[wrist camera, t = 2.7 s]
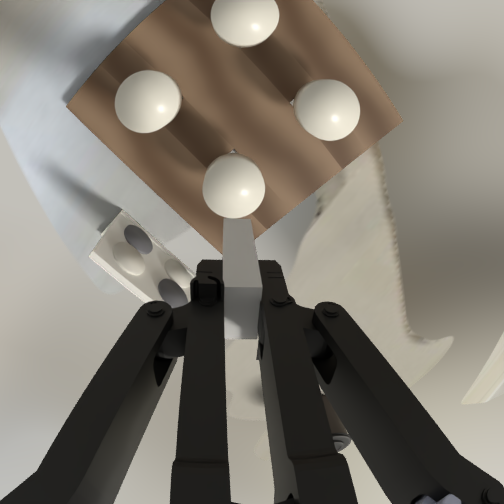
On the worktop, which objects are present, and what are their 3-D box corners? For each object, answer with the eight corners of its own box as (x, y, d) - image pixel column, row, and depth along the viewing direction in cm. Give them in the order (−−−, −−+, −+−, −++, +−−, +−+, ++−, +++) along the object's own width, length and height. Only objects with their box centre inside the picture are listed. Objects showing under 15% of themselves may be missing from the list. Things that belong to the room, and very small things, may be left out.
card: (123, 208, 33) (94, 248, 25) (201, 277, 38) (196, 329, 30) (102, 232, 34) (72, 276, 26) (178, 296, 39) (168, 350, 31)
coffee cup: (302, 419, 55) (311, 464, 46) (289, 399, 51) (299, 449, 42) (343, 406, 54) (356, 450, 45) (335, 384, 50) (349, 433, 41)
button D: (234, 137, 28) (236, 146, 24) (270, 176, 30) (277, 191, 26) (194, 173, 29) (189, 188, 25) (231, 210, 31) (231, 229, 27)
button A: (245, -10, 21) (248, -25, 17) (283, 27, 23) (292, 18, 19) (201, 23, 22) (196, 12, 18) (239, 61, 24) (241, 56, 21)
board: (248, -55, 20) (249, -59, 19) (397, 119, 30) (403, 120, 29) (71, 105, 27) (65, 106, 25) (228, 255, 36) (228, 260, 35)
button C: (158, 61, 24) (146, 57, 20) (196, 98, 26) (191, 100, 22) (119, 101, 25) (102, 104, 21) (156, 136, 27) (145, 145, 23)
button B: (319, 69, 25) (334, 67, 21) (352, 111, 27) (371, 116, 23) (277, 101, 26) (285, 104, 23) (312, 142, 28) (325, 153, 25)
